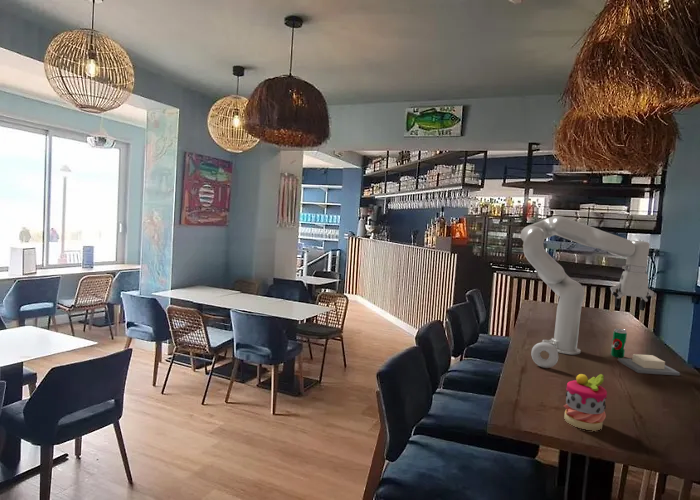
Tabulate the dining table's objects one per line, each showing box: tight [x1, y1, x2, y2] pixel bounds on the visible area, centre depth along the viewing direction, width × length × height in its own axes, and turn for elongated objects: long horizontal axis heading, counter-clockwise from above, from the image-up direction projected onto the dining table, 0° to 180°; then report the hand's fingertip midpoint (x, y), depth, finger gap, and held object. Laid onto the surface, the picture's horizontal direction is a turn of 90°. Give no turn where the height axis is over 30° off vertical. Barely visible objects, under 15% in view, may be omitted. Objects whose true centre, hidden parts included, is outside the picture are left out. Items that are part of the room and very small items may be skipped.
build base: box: [617, 353, 681, 376], centre depth 184 cm, size 16×14×4 cm
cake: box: [563, 373, 608, 432], centre depth 130 cm, size 10×11×15 cm
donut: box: [530, 341, 560, 369], centre depth 177 cm, size 10×3×10 cm, turn 55°
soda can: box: [610, 327, 628, 359], centre depth 197 cm, size 5×5×12 cm
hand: (629, 308), depth 196 cm, fingers open, 9 cm apart
